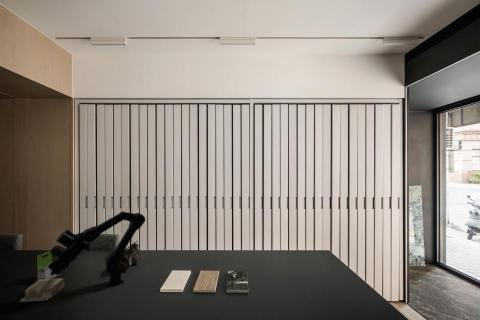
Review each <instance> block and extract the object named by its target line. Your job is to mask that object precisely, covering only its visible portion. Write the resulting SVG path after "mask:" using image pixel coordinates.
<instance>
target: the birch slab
mask: <svg viewBox="0 0 480 320" xmlns="http://www.w3.org/2000/svg"><path fill="white" fill-rule="evenodd" d="M65 286H66V285H65V278H52V279H41V280H38V281H35V282H34V283H33V284H32V285H31V286H29V287H28V288H27V289H25V290H24V295H25V296H24V297H25V299H32V298H48V297H50V298H53V297H54V296H56V294H57V293H59V292H60V291H61V290H62V289H63V288H64V287H65Z"/></svg>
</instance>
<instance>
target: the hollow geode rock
mask: <svg viewBox="0 0 480 320" xmlns="http://www.w3.org/2000/svg"><path fill="white" fill-rule="evenodd" d="M138 242H139V240H136V241H135V242H133V243H132V244H131V245H129V246H128V247H126V248H125V250H124V252H123V253H122V255H121V259H120V262H119V264H120V266H121V267H122V269H123V270H122V272H125V271H126V270H129V268H130V267H131V266H132V265H134V264H139V262H141V261H140V260H141V257H142V256H143V253H142V251H141V250H140V249H139V247H140V244H139V243H138Z"/></svg>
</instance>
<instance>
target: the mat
mask: <svg viewBox="0 0 480 320" xmlns="http://www.w3.org/2000/svg"><path fill="white" fill-rule="evenodd" d="M49 299H51V297H48V298H32V299H25V296H24V297H22V298H21V299H20V300H19V303H25V302H26V303H27V302H41V301H48V300H49Z"/></svg>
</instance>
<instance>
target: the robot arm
mask: <svg viewBox="0 0 480 320" xmlns="http://www.w3.org/2000/svg"><path fill="white" fill-rule="evenodd" d="M123 221H126V222H129V225H128V228H127V229H126V230H125V232H124V234H123V236H122V237H121V239H120V240H119V243H118V244H116V245H117V246H116V248H115V249H114V250H113V251H112V252H111V253H110V252H108V253H107V256H106V257H105V258H104V262H103V264H104V267H105V269H106V270H107V271H108V272H109V281H106V283H107V284H108V285H109V286H111V287H115V286H118V285H120V284H124V283H125V280H123V279H122V272H123V271H122V270H123V269H122V267H121V266H120V264H119V262H120V259H121V255H122V253H123V252H124V250H125V249H126V248H128V247H127V246H128V245H129V243H130V242H131V240H132V238H133V237H134V235H135V234H136V232H137V231H138V230H139V229H140V228H142V226H143V225H144V223H145V222H146V217H145V215H144V214H142V213H140V212H135V213H133V212H127V211H120V212H119V213H117V214H116V215H114V216H112V217H110V218H109V219H107V220H105V221H104V222H102V223H100V224H98V225H94V226H91V227H89V228H86V229H85V230H82V232H79V233H76V234H75V233H73V232H72V231H71V230H70V229H67V228H66V230H64V231H63V232H62V233H60V234H59V236H58V237H57V239H55V241H56V242H57V243H58V244H61V245H62V246H61V245H55V246H53V247H52V249H50V250H49V251H50V252H51V253H50V254H51V255H52V256H55V257H57V260H52V263H51V264H50V265H49V266H48V268H50V269H51V270H52V272H51V273H50V275H54V274H56V275H58V276H60V275H61V273H62V272H64V271H65V270H66V269H67V268H68V267H70V265H71V264H73V263H74V262H76V261H77V260H78V257H80V254H82V252H83V251H85V250H86V251H88V252H89V251H90V250H91V243H93V242H94V241H95V240H96V239H97V238H99V237H100V236H101V234H103V233H104V232H106V231H107V230H109V229H111V228H112V227H114V226H116V225H118V224H119V223H121V222H123ZM65 247H66V248H65ZM68 247H69V248H68ZM59 274H60V275H59Z"/></svg>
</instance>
